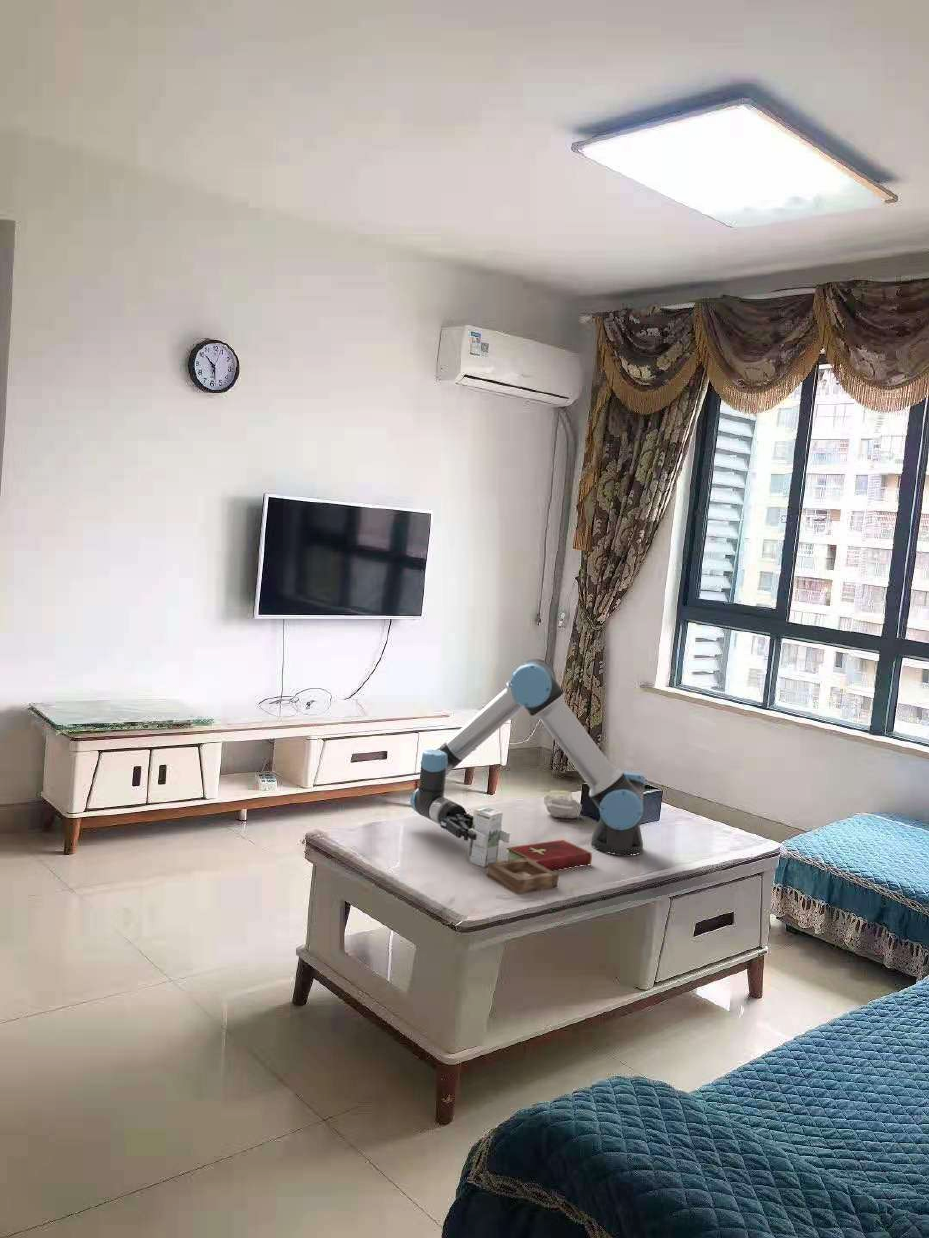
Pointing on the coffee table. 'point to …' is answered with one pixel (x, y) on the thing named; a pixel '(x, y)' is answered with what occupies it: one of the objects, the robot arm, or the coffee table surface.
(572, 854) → the hardcover book
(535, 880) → the walnut holder
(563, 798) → the fossil replica
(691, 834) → the coffee table surface
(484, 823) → the syrup box
